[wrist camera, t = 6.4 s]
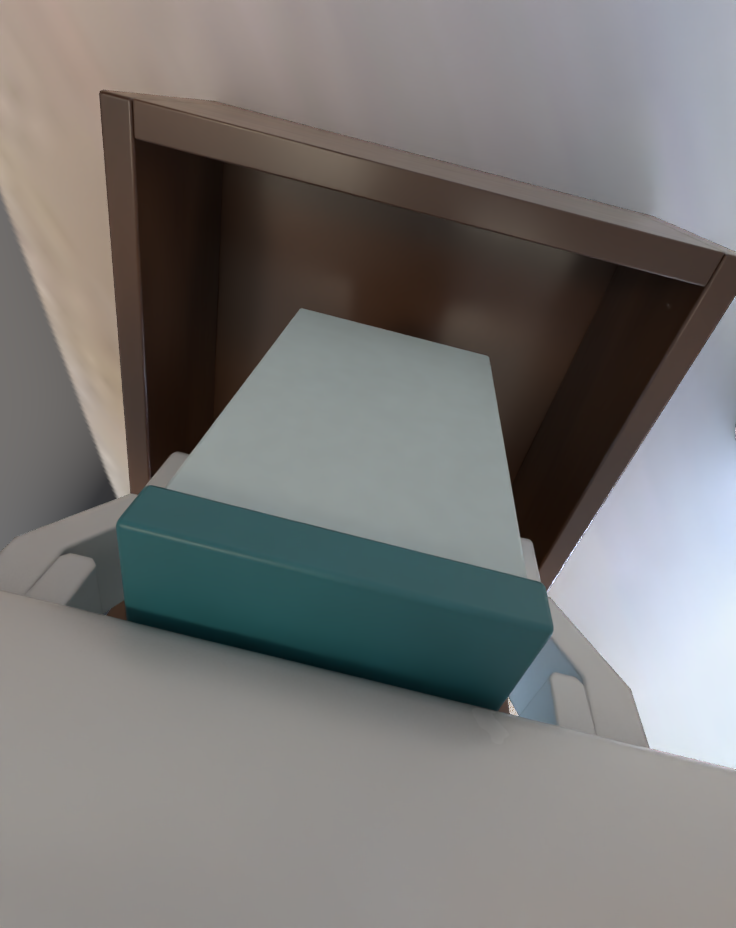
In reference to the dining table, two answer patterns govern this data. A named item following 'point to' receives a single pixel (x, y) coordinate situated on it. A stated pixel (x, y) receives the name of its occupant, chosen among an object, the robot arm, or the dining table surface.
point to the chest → (396, 289)
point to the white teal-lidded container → (348, 519)
